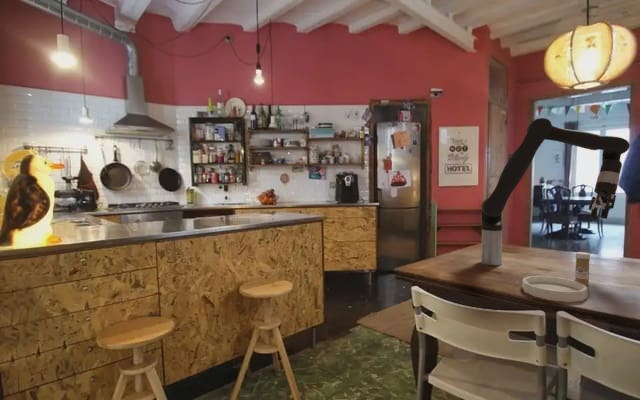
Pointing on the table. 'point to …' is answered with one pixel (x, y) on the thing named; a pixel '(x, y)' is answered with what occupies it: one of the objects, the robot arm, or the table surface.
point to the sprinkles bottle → (582, 268)
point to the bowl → (554, 288)
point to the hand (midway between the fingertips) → (597, 218)
